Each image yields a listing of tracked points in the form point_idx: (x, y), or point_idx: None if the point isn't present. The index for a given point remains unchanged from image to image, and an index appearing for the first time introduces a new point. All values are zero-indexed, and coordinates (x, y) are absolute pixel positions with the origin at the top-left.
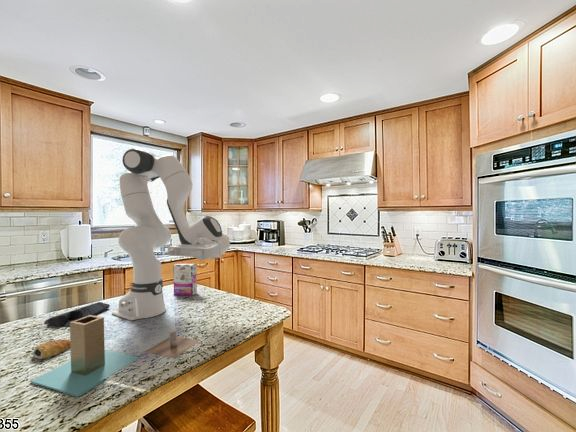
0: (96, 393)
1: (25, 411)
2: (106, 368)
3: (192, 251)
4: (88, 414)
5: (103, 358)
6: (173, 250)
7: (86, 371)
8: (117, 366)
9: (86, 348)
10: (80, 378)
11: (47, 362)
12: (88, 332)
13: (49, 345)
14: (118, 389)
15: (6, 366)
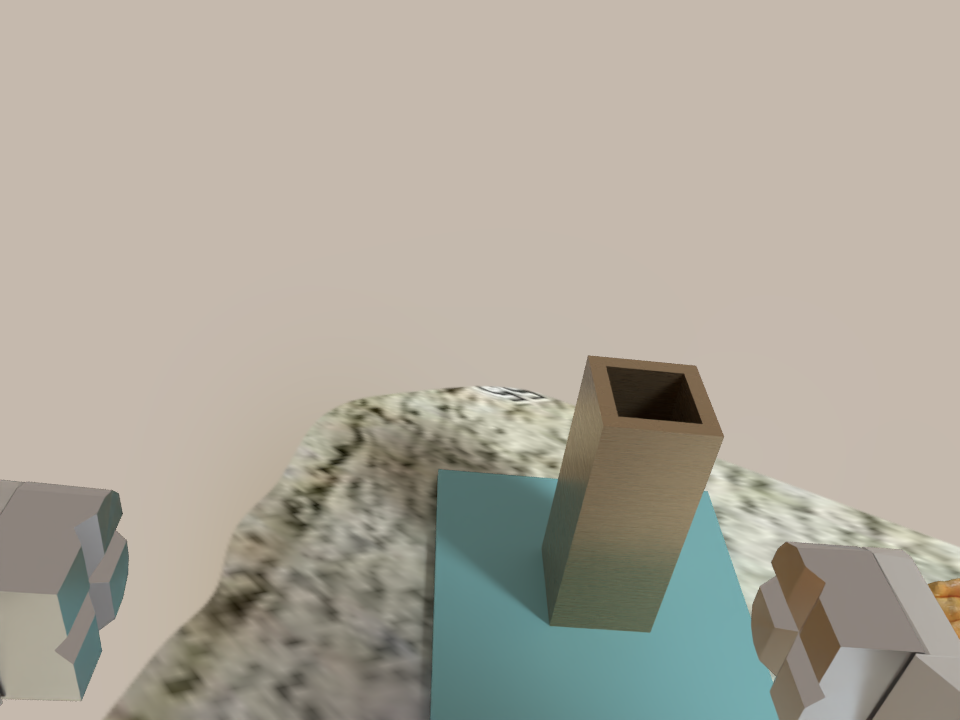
0: (391, 500)
1: (531, 418)
2: (506, 603)
3: (23, 567)
4: (320, 435)
5: (554, 594)
6: (835, 633)
7: (544, 540)
8: (469, 627)
9: (564, 461)
10: (539, 531)
11: None
12: (580, 408)
13: (957, 610)
14: (323, 529)
15: (953, 548)
